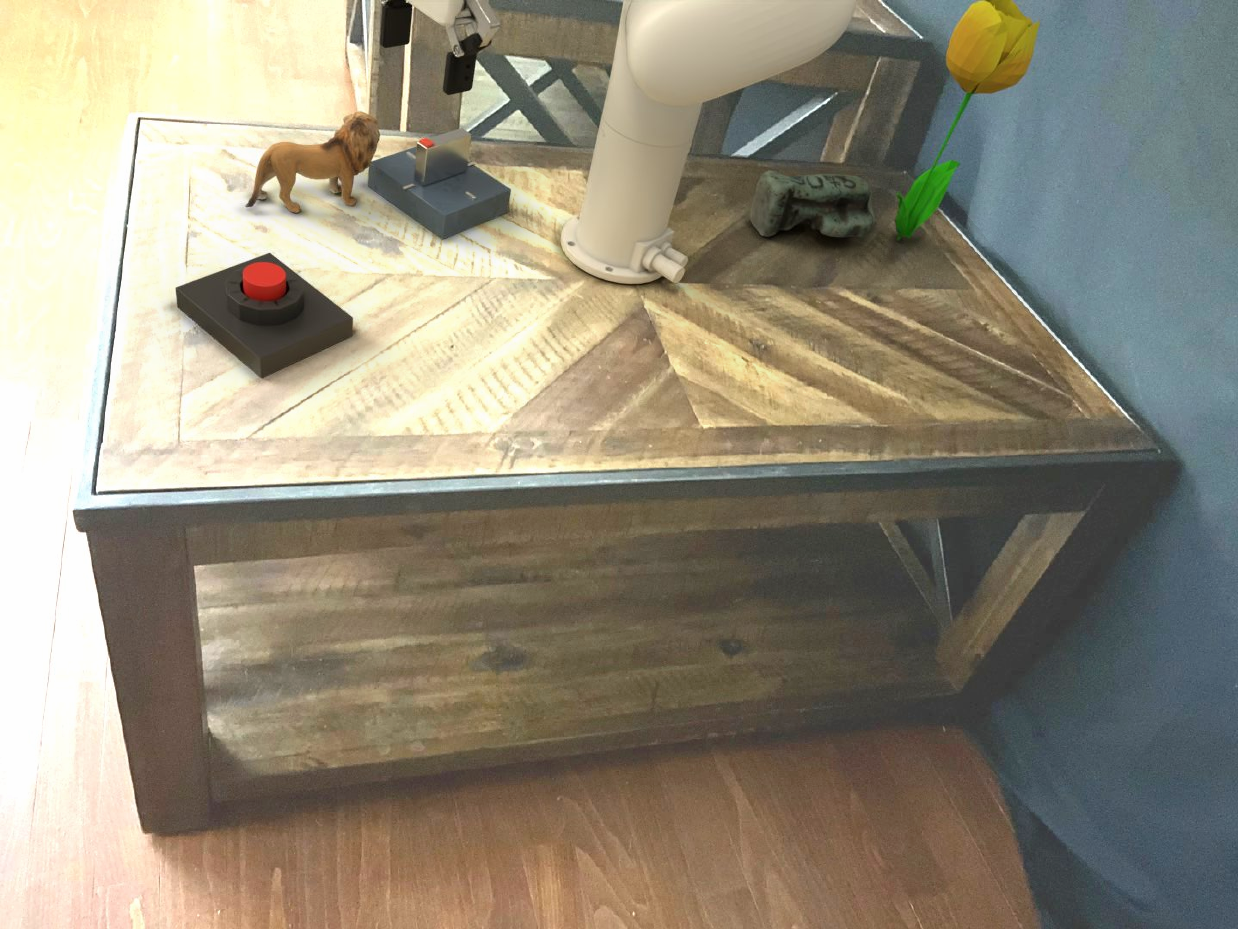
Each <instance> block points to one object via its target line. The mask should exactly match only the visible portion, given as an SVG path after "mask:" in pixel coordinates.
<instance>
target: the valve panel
mask: <svg viewBox="0 0 1238 929" xmlns="http://www.w3.org/2000/svg"><path fill="white" fill-rule="evenodd" d="M416 148H417V146H414V147H411V148H407V149H404V150H402V151H399V152H396V153H393V154H389V155H386V156H384V157H380V158H378V159H375V160H372V161H371V163H370V166H369V167H368V173H367V174H368V175H367V187H368V188H369V189H372V190H373V191H374V192H375V193H377V194H378V195H379V196H381V197H382V198H384V199H385V200H386V201H388V202H390V203H391V204H392V205H394V206H395V207H396V208H398V209H399V210H401V212H403V213H405V214H406V215H408V216H410V218H412V219H413V220H415V221H416V222H417V223H419V224H420V225H422V226H423V227H424V228H426V229H427V230H428V231H430V232H431V233H433V234H435V236H437V237H438V238H440V239H441V240H444V239H445V240H446V239H448V238H450V237H452V236H455V235H457V234H460V233H461V232H464V231H467V230H469V229H471V228H474V227H476V226H478V225H481V224H484V223H486V222H488V221H490V220H493V219H496V218H498V217H500V216H502V215H505V214H507V213H508V212H509V206H510V199H511V193H512V189H511V188H509V187H508V186H507V185H505V184H504V183H503V182H501V181H500V180H498V179H496V178H495V177H493V176H492V175H490V174H488V173H487V172H485V171H484V170H483V169H481V168H480V167H479V166H477V164H478V163H477V162H476V161H475V160H474V161H468V169H467V171H466V172H463V173H460V174H457V175H454V176H451V177H449V178H446V179H443V180H440V181H437V182H435V183H432V184H429V185H426V186H422V185H421V184H419V183H418V182H417V181H415V180H414V172H415V160H416Z"/></svg>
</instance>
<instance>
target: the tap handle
mask: <svg viewBox="0 0 1238 929" xmlns="http://www.w3.org/2000/svg"><path fill="white" fill-rule="evenodd" d="M472 136H473V135H472V133H470V132H469V131H468V130H466V129H465V128H462V127H460V128H457V129H454V130H451V131H448V132H445V133H441V134H438V135H435V136H431V137H428V138H427V137H424V138H421V139H419V141H417V142H416V147H417V148H416V160H415V172H414V180H415V181H417V182H418V183H419V184H421V185H422V186H426V185H429V184H432V183H435V182H437V181H440V180H443V179H446V178H449V177H451V176H454V175H457V174H460V173H463V172H466V171H467V169H468V161H469V159H470V153H471V152H470V151H471V142H472ZM469 162H470V161H469Z"/></svg>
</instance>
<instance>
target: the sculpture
mask: <svg viewBox="0 0 1238 929" xmlns="http://www.w3.org/2000/svg"><path fill="white" fill-rule="evenodd" d="M872 193H873V192H872V188H871V187H870V185H869V184H868V183H867V182H866V180H865V179H864V178H861V177H859V176H857V175H850V174H838V173H837V174H833V173H825V174H821V173H820V174H807V175H784V174H781V173H780V172H778V171H775V170H767V171H765V172H764V173H763V174H762V175H761V176H760V177H759V178H758V181H757V185H756V189H755V192H754V197H753V201H752V204H751V208H750V212H749V218H750V222H751V224H752V226H753V227H754V228H755V229H756V231H757V232H758V233H759V234H760V236H762V237H766V238H768V237H771V236H774V235H776V234H777V233H778V232H779V231H789V230H791V229H792V228H794V226H797V225H798V224H801V223H803V222H805V223H808V224H809V227H810V228H811V229H812V230H814V231H815V230H816V231H819V232H820V234H822V235H824V236H827V237H831V238H832V237H834V238H848V237H849V238H850V237H852V238H866V237H868V235H869V234H870V233H871V232H872V230H873V227H874V225H875V223H876V221H875V220H876V219H875V212H874V210H873V204H872V203H873V202H872V200H873V199H872Z"/></svg>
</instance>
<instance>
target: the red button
mask: <svg viewBox="0 0 1238 929" xmlns="http://www.w3.org/2000/svg"><path fill="white" fill-rule="evenodd" d="M243 289H244V293H245V294H246V295H247V296H248V297H249V298H251V299H255V300H259V301H275V300H278V299H280V298H282V297H283V296H284V295H285V293H286V273H285V271H284V270H283V269H282V268H281V267H280V266H278V265H276V264H273V263H268V262H258V263H253V264H250V265H249V266H247V267H246V268H245V269H244V271H243Z"/></svg>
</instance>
